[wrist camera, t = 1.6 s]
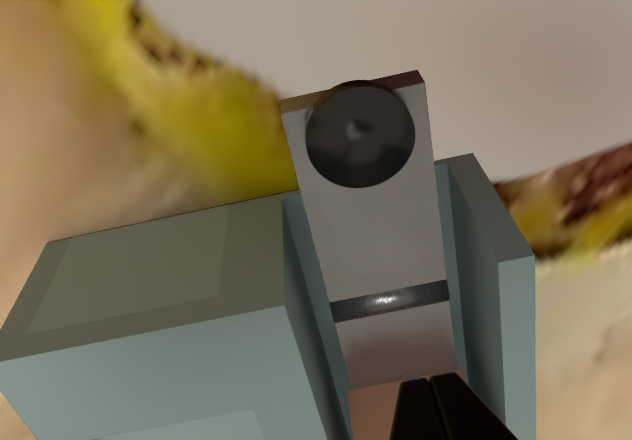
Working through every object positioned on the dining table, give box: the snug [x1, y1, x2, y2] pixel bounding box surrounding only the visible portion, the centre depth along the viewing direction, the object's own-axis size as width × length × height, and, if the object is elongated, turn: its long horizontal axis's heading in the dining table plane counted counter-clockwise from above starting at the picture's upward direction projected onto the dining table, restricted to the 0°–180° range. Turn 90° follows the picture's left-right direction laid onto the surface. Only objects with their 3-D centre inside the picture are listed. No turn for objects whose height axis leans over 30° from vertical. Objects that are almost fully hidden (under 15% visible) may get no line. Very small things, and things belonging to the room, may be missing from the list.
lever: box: [280, 70, 457, 390], centre depth 22 cm, size 19×4×2 cm, turn 12°
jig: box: [0, 153, 536, 440], centre depth 24 cm, size 18×16×6 cm
